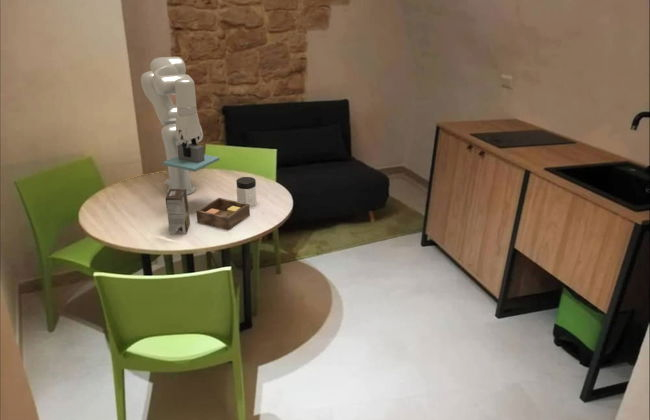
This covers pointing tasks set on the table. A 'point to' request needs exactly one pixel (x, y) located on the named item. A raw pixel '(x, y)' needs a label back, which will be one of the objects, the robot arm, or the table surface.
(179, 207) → the coffee box
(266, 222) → the table surface
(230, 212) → the mustard block
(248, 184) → the jar
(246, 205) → the box
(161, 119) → the robot arm
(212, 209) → the terracotta block
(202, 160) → the lid
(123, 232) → the table surface
